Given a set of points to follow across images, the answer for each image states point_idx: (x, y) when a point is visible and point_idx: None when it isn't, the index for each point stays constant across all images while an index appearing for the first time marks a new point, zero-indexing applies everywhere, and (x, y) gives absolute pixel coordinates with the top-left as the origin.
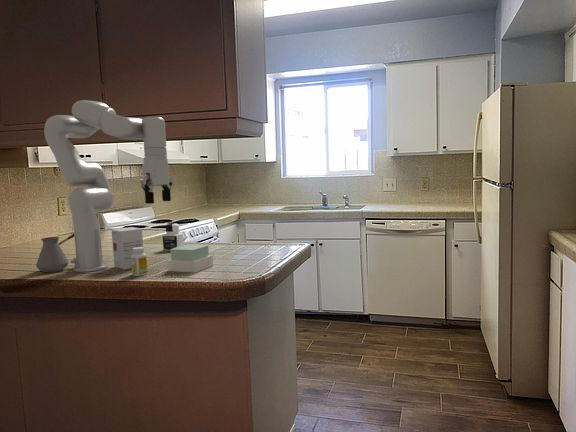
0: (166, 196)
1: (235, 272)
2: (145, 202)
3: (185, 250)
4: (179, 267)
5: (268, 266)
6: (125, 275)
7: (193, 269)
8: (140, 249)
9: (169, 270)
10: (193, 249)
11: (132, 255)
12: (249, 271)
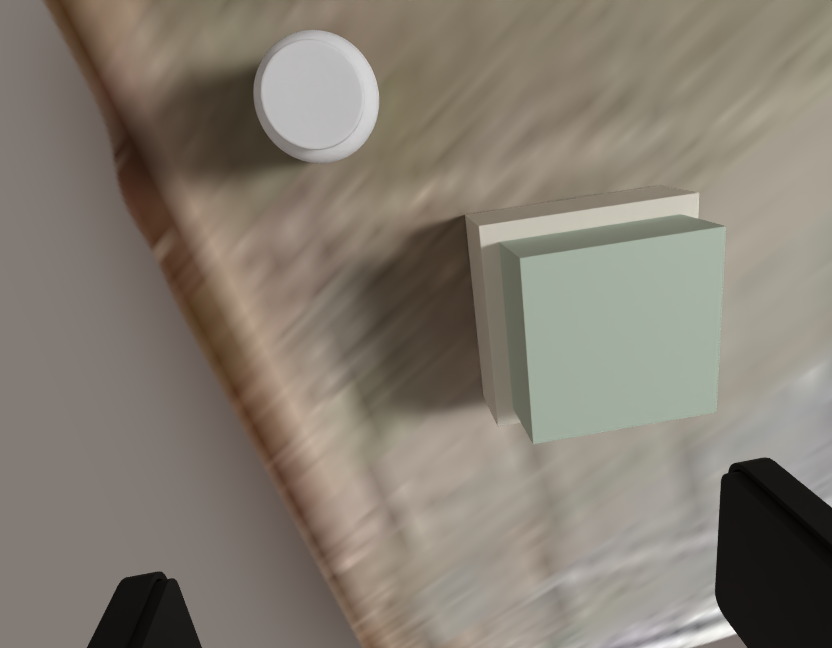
0: (778, 629)
1: (543, 561)
2: (118, 586)
3: (527, 382)
4: (478, 305)
5: (691, 608)
6: (259, 18)
7: (485, 391)
8: (298, 146)
9: (467, 226)
10: (549, 431)
11: (258, 83)
12: (577, 599)
